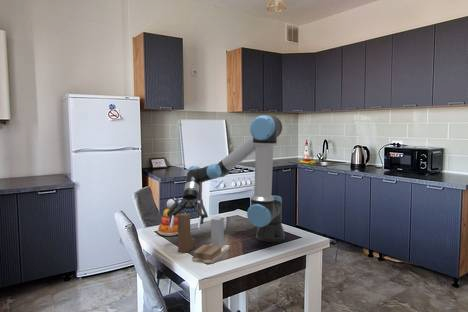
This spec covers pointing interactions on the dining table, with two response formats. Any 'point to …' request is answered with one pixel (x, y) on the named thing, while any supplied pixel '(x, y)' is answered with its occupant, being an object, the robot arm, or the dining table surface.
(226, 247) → the base board
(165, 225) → the stacking toy
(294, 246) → the dining table surface
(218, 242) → the grey pillar
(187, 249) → the wooden block
